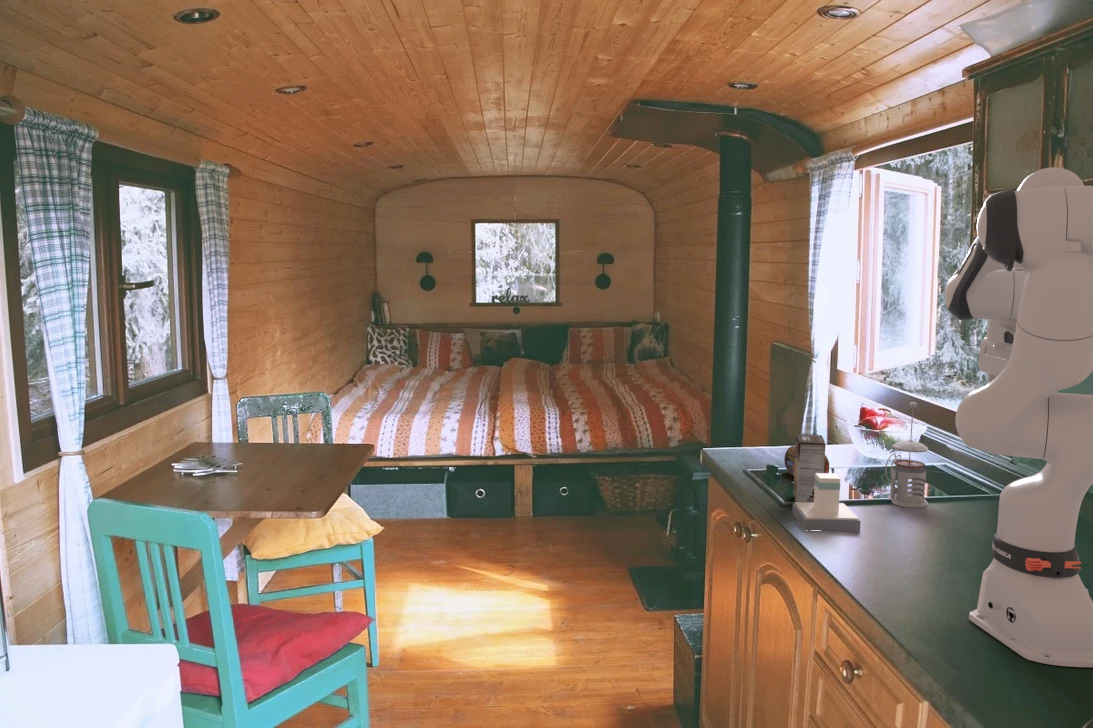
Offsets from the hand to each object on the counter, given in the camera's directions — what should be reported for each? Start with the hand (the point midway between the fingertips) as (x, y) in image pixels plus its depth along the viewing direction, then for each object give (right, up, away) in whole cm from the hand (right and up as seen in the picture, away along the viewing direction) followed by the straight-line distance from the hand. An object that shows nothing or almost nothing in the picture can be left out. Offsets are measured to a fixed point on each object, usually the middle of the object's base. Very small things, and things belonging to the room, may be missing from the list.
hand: (1005, 399), depth 171 cm
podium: (-31, -29, +18) cm, 46 cm away
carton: (-31, -26, +18) cm, 44 cm away
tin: (-24, -24, +55) cm, 65 cm away
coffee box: (-30, -27, +34) cm, 53 cm away
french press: (-6, -27, +34) cm, 44 cm away
